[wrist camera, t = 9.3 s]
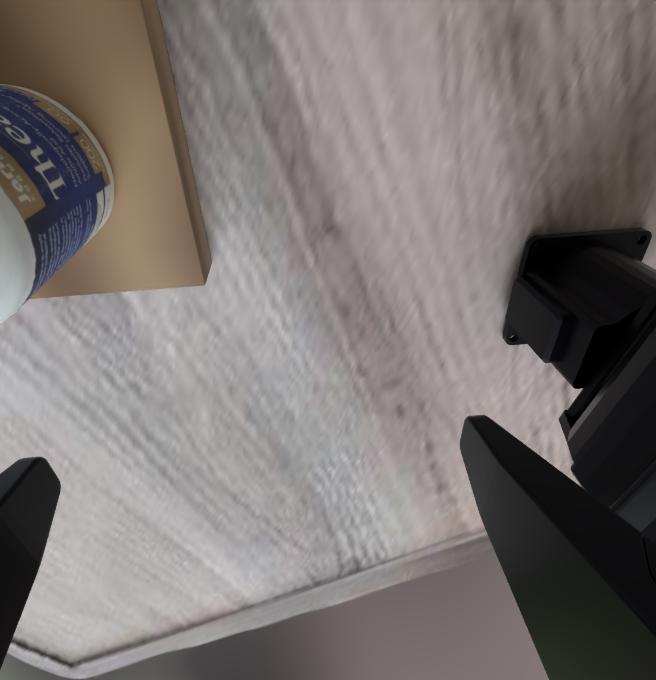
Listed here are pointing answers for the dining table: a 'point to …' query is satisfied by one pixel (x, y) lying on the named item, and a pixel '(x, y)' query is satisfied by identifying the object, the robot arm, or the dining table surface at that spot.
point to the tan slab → (115, 136)
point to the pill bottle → (45, 191)
